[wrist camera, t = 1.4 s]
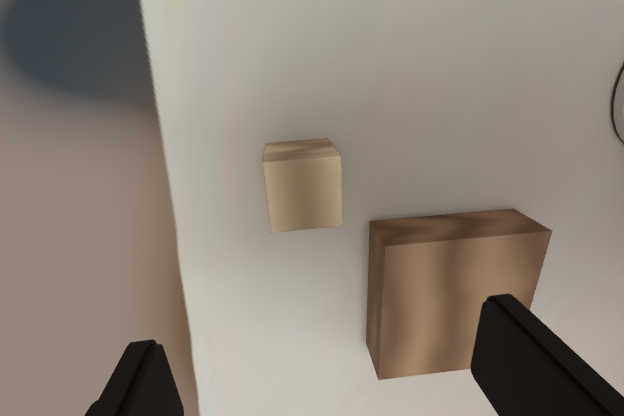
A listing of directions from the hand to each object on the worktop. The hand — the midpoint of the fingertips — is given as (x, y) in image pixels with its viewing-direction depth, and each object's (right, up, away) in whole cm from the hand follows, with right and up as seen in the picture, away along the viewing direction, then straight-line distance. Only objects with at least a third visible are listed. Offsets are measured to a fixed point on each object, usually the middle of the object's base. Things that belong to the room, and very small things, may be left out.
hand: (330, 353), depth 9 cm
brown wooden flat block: (+12, -3, +24) cm, 27 cm away
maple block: (-2, +7, +17) cm, 19 cm away
